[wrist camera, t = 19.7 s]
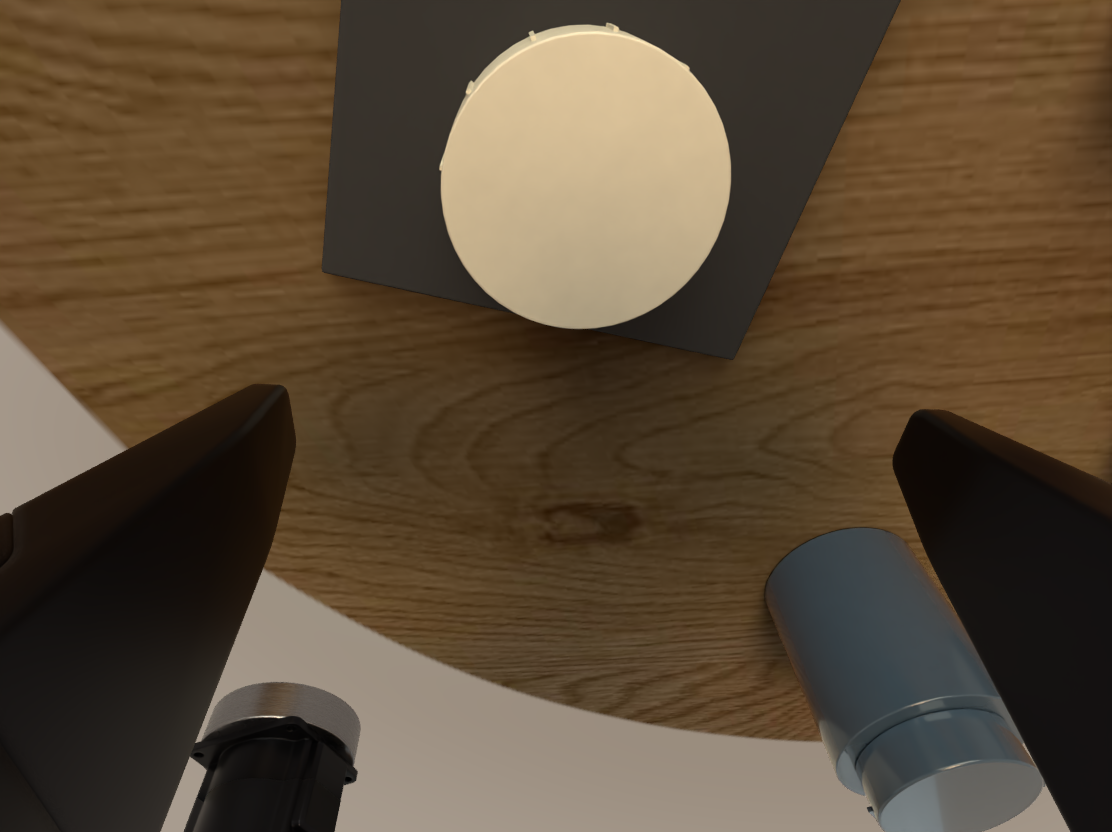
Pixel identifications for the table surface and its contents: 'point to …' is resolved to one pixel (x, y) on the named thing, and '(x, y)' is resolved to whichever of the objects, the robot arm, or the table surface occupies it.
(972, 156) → the table surface
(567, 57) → the lid
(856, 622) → the jar
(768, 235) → the mat
